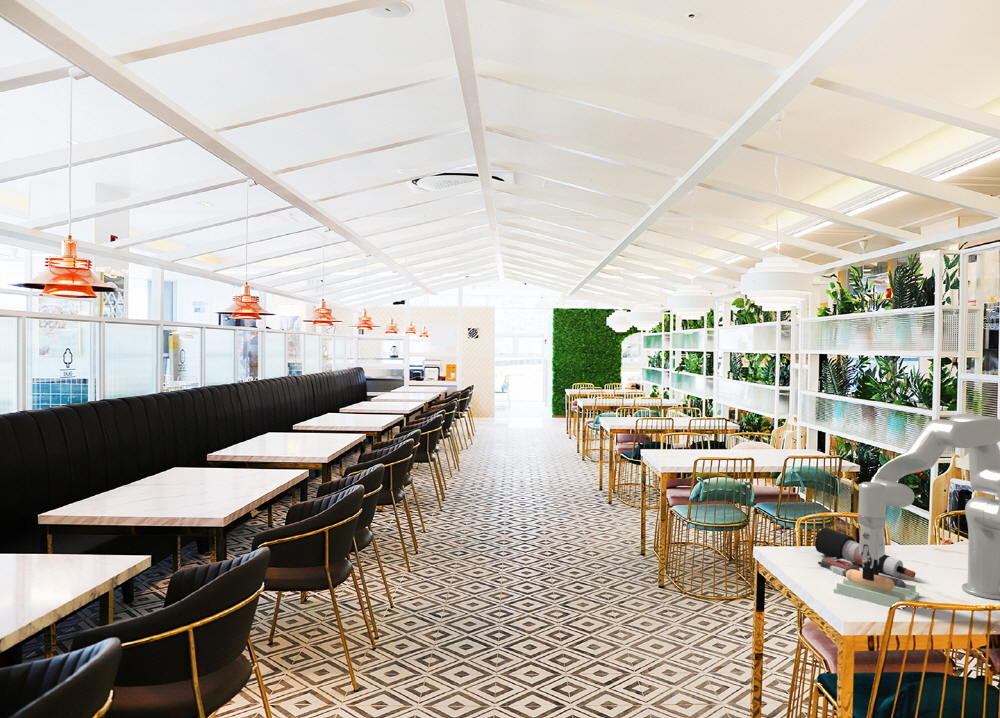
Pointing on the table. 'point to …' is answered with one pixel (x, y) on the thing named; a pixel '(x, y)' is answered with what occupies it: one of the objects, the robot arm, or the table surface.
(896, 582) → the gray pill-shaped rod
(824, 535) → the cable
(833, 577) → the table surface
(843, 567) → the walkie-talkie
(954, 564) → the table surface
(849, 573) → the tan capsule
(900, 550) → the table surface
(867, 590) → the rack
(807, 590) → the table surface
